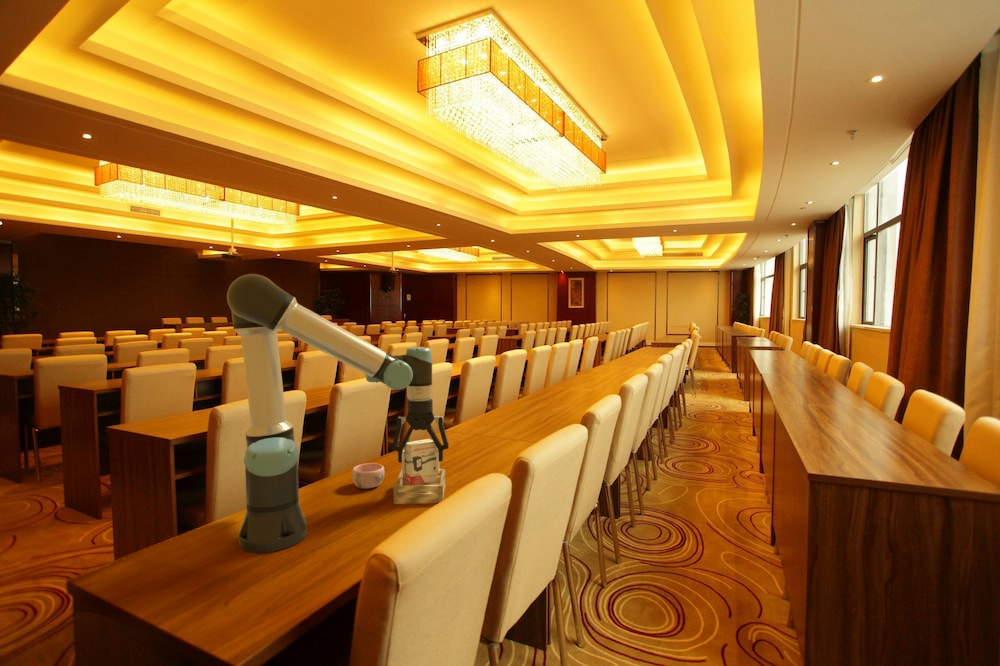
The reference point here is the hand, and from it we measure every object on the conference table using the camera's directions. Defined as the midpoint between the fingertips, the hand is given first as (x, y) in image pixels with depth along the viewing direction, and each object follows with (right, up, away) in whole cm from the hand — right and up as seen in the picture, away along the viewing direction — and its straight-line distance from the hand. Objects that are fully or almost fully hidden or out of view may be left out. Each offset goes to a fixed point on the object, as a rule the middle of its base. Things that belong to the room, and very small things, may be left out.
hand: (420, 472), depth 149 cm
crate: (0, -7, 0) cm, 7 cm away
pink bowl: (-18, -7, +8) cm, 21 cm away
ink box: (0, -3, 0) cm, 3 cm away
